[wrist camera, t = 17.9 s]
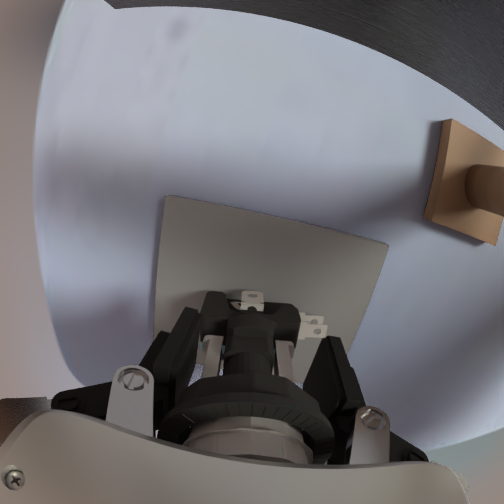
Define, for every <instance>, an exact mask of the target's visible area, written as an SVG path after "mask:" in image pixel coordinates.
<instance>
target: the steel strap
mask: <svg viewBox="0 0 504 504" xmlns="http://www.w3.org/2000/svg"><path fill="white" fill-rule="evenodd" d="M105 1H106V2H107V3H108V4H110V5H111V6H112V7H113V8H115V9H121V8H133V7H153V6H180V7H201V8H214V9H223V10H232V11H239V12H246V13H252V14H258V15H263V16H268V17H273V18H278V19H282V20H286V21H290V22H294V23H298V24H302V25H306V26H309V27H313V28H316V29H319V30H323V31H326V32H329V33H332V34H335V35H338V36H341V37H343V38H346V39H349V40H351V41H354V42H357V43H359V44H362V45H364V46H367V47H369V48H371V49H374V50H376V51H378V52H381V53H383V54H385V55H387V56H389V57H391V58H393V59H396V60H398V61H400V62H402V63H404V64H406V65H407V66H409V67H411V68H413V69H415V70H417V71H419V72H421V73H422V74H424V75H426V76H428V77H429V78H431V79H433V80H434V81H436V82H438V83H439V84H441V85H443V86H444V87H446V88H447V89H449V90H450V91H452V92H454V93H455V94H457V95H458V96H460V97H461V98H462V99H464V100H465V101H467V102H468V103H470V104H471V105H472V106H474V107H475V108H476V109H478V110H479V111H480V112H482V113H483V114H484V115H486V116H487V117H488V118H489V119H491V120H492V121H493V122H494V123H496V124H497V125H498V126H499V127H500V128H501V129H503V130H504V0H105Z"/></svg>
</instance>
